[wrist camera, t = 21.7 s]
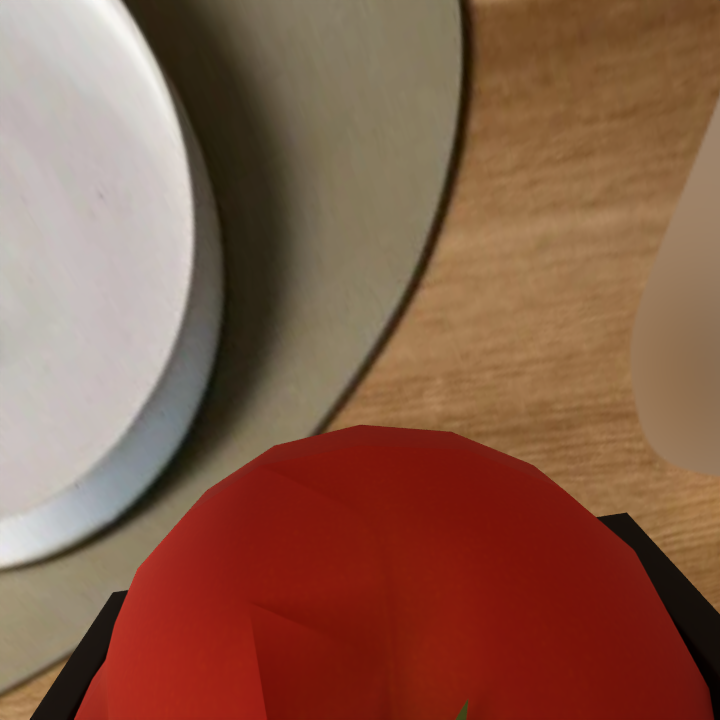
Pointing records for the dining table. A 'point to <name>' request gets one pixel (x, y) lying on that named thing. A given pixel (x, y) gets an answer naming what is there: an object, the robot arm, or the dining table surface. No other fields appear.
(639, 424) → the dining table surface
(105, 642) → the robot arm
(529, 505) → the tomato
